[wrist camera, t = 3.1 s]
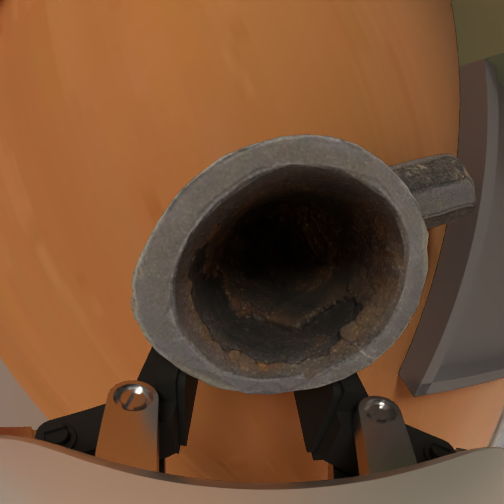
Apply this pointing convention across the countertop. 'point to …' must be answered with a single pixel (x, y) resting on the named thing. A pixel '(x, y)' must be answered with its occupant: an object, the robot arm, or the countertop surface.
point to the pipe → (293, 261)
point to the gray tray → (470, 226)
